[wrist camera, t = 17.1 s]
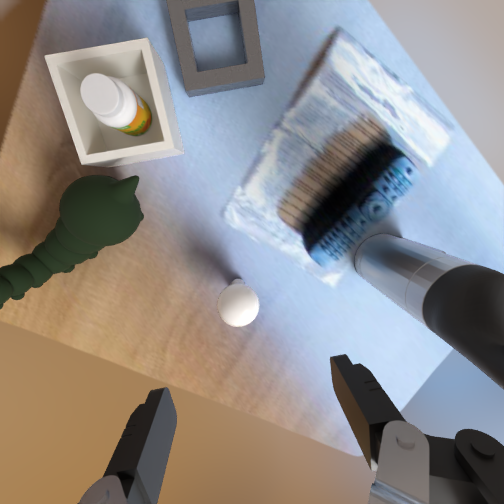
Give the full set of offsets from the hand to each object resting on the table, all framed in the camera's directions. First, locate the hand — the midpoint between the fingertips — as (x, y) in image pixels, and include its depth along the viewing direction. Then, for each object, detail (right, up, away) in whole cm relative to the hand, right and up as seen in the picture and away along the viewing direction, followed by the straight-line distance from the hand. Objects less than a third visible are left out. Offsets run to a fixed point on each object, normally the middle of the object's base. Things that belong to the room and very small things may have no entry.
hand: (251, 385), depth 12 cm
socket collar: (-5, +35, +23) cm, 43 cm away
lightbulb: (-2, +1, +33) cm, 33 cm away
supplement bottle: (-17, +26, +24) cm, 39 cm away
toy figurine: (-25, +11, +29) cm, 40 cm away
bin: (-17, +26, +25) cm, 40 cm away
